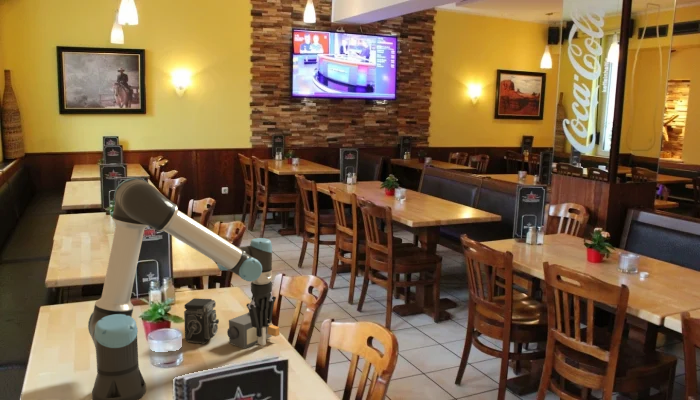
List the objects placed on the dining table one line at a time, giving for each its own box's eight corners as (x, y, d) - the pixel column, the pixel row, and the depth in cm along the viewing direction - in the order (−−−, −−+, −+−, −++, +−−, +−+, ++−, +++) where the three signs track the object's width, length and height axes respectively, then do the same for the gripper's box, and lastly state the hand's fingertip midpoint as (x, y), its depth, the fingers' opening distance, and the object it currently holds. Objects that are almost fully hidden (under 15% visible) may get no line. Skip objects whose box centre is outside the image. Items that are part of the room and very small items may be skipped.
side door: (267, 344, 216) (267, 328, 215) (257, 341, 219) (257, 325, 218) (279, 339, 222) (279, 322, 221) (270, 336, 224) (269, 320, 223)
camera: (210, 346, 216) (209, 307, 213) (183, 344, 218) (182, 305, 215) (221, 336, 226) (221, 298, 223) (196, 333, 228) (195, 296, 226)
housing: (241, 350, 213) (241, 324, 212) (226, 344, 218) (225, 319, 216) (268, 338, 224) (267, 313, 222) (252, 333, 229) (252, 309, 227)
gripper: (255, 287, 205) (256, 352, 209) (281, 279, 216) (281, 341, 219) (240, 283, 210) (241, 347, 213) (266, 275, 220) (266, 336, 224)
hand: (261, 343), depth 216 cm, fingers closed
